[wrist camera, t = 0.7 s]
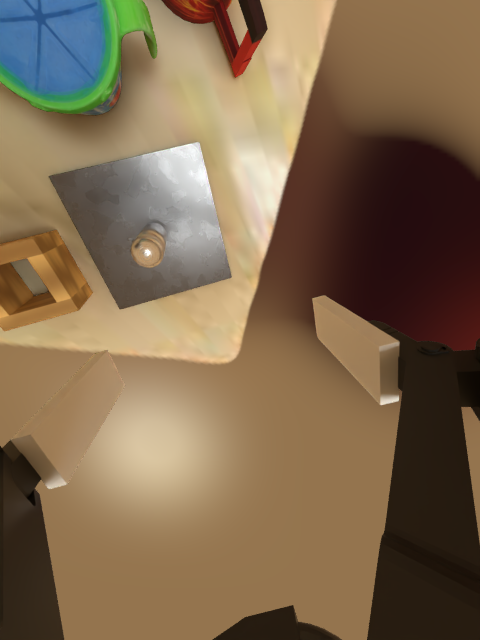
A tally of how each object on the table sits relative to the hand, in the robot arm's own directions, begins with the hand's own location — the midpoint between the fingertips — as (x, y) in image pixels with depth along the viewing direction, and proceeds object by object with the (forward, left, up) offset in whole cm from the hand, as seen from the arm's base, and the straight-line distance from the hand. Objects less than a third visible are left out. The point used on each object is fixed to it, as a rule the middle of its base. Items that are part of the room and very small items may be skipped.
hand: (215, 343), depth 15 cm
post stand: (-4, -4, -24) cm, 25 cm away
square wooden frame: (-3, -20, -24) cm, 32 cm away
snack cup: (-21, -5, -25) cm, 33 cm away
